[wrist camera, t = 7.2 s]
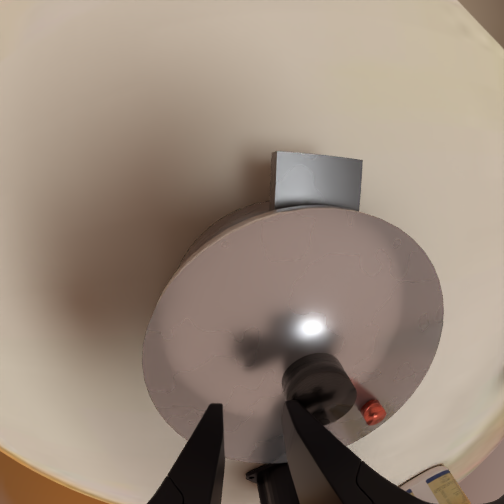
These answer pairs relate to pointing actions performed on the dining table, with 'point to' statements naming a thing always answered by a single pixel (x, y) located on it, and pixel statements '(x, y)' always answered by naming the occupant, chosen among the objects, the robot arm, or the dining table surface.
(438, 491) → the supplement tub
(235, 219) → the cooker pot
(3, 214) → the dining table surface
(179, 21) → the dining table surface
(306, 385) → the cooker lid
